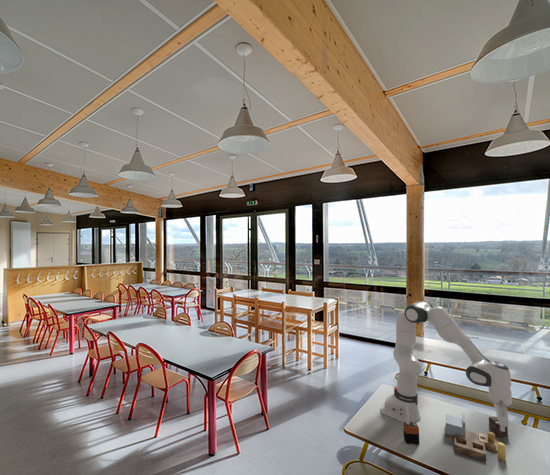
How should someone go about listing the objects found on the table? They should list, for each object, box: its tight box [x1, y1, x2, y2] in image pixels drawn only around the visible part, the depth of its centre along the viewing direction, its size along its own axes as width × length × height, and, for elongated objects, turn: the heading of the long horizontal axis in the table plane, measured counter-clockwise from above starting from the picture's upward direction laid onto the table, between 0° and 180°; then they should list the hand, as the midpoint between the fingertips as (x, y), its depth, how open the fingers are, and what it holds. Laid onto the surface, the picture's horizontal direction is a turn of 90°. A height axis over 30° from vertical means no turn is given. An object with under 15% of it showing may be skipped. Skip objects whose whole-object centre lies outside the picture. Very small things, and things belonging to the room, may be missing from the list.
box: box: [488, 416, 509, 438], centre depth 156 cm, size 6×6×7 cm
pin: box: [497, 441, 507, 462], centre depth 138 cm, size 3×3×7 cm
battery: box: [402, 422, 420, 446], centre depth 151 cm, size 4×7×10 cm, turn 81°
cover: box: [445, 413, 466, 437], centre depth 156 cm, size 9×9×9 cm
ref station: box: [444, 424, 499, 453], centre depth 152 cm, size 24×10×6 cm, turn 57°
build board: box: [453, 434, 487, 461], centre depth 144 cm, size 13×9×3 cm
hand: (501, 424), depth 138 cm, fingers open, 8 cm apart
